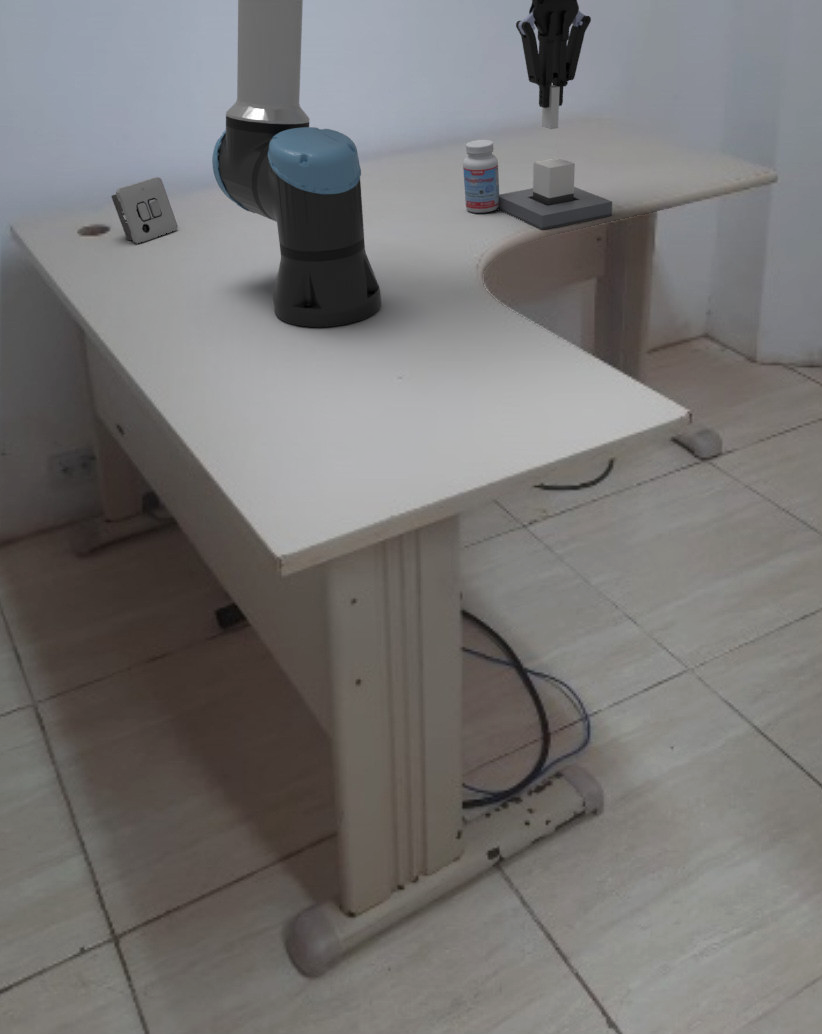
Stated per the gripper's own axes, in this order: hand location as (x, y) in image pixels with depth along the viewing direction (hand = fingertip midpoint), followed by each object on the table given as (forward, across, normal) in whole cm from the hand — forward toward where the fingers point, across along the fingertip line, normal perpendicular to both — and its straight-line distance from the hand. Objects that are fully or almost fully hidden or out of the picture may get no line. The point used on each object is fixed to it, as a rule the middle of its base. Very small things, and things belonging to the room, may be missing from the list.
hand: (549, 127), depth 178 cm
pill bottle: (+14, +9, -7) cm, 18 cm away
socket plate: (+14, 0, +1) cm, 14 cm away
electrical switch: (+15, +64, -27) cm, 71 cm away
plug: (+14, 0, +1) cm, 14 cm away
